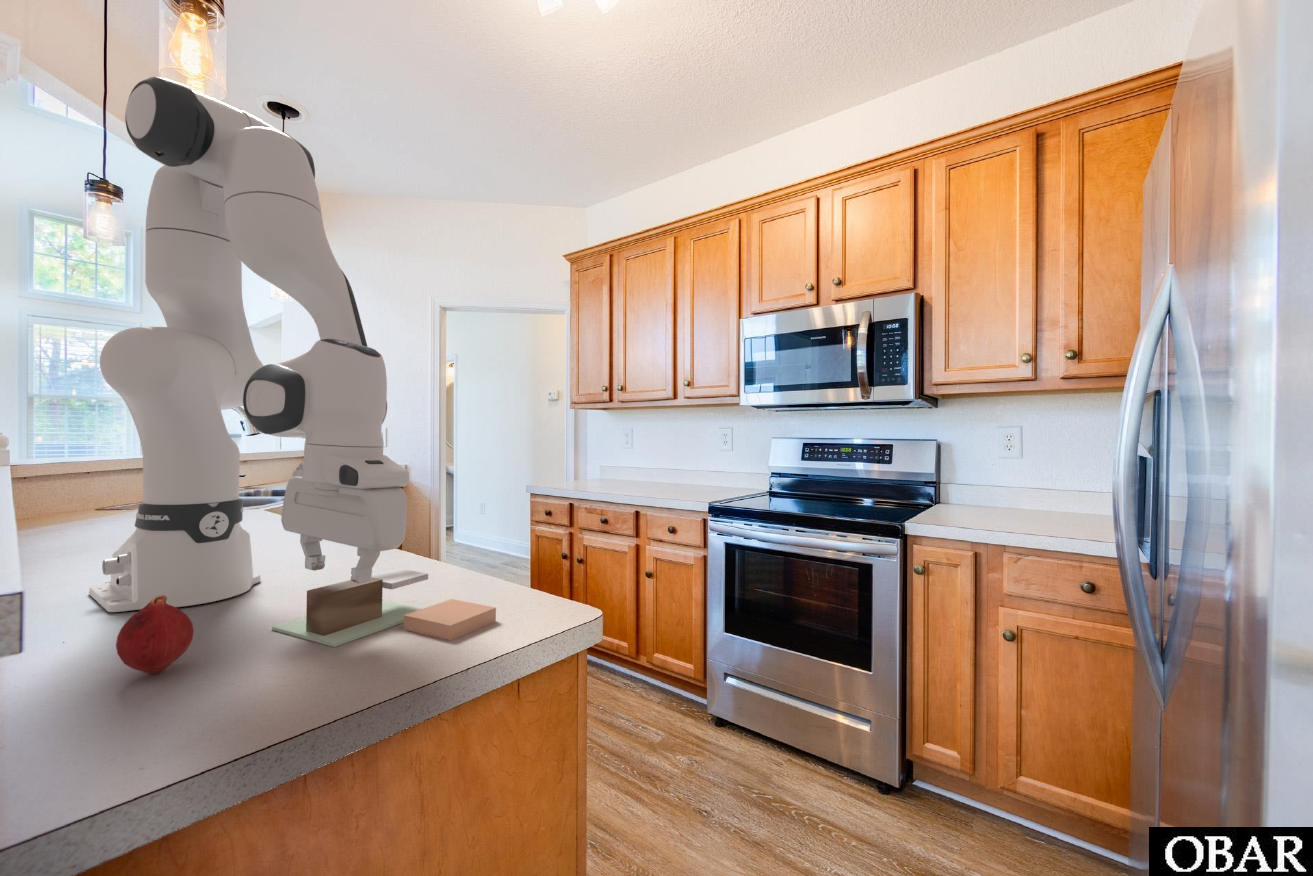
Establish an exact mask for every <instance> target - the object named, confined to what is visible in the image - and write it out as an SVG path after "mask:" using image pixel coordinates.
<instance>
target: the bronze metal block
mask: <svg viewBox="0 0 1313 876" xmlns="http://www.w3.org/2000/svg"><path fill="white" fill-rule="evenodd" d="M427 580H429V573H427V572H420V571H415V570H410V569H403V568H399V567H390V568H388V569H383V570H379V571H375V572H372V575H371V580H370V581H369V582H366V583H362V584H360V583H356V582H353V581H351V579H350V580H349V579H348V580H344V581H340V582H336V583H333V584H328V585H325V586H320V587H316V588H312V589H308V590H306V614H305V615H306V616H305V617H306V631H308V632H311V633H315V634H319V635H322V636H325V635H328V634H331V633H334V632H337V631H340V630H343V629H347V628H350V627H353V626H356V625H359V624H362V623H365V622H368V621H371V620H374V619H377V618H380V617H382V600H383V589H387V590H395V589H398V588H402V587H406V586H410V585H412V584H416V583H420V582H423V581H427Z"/></svg>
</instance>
